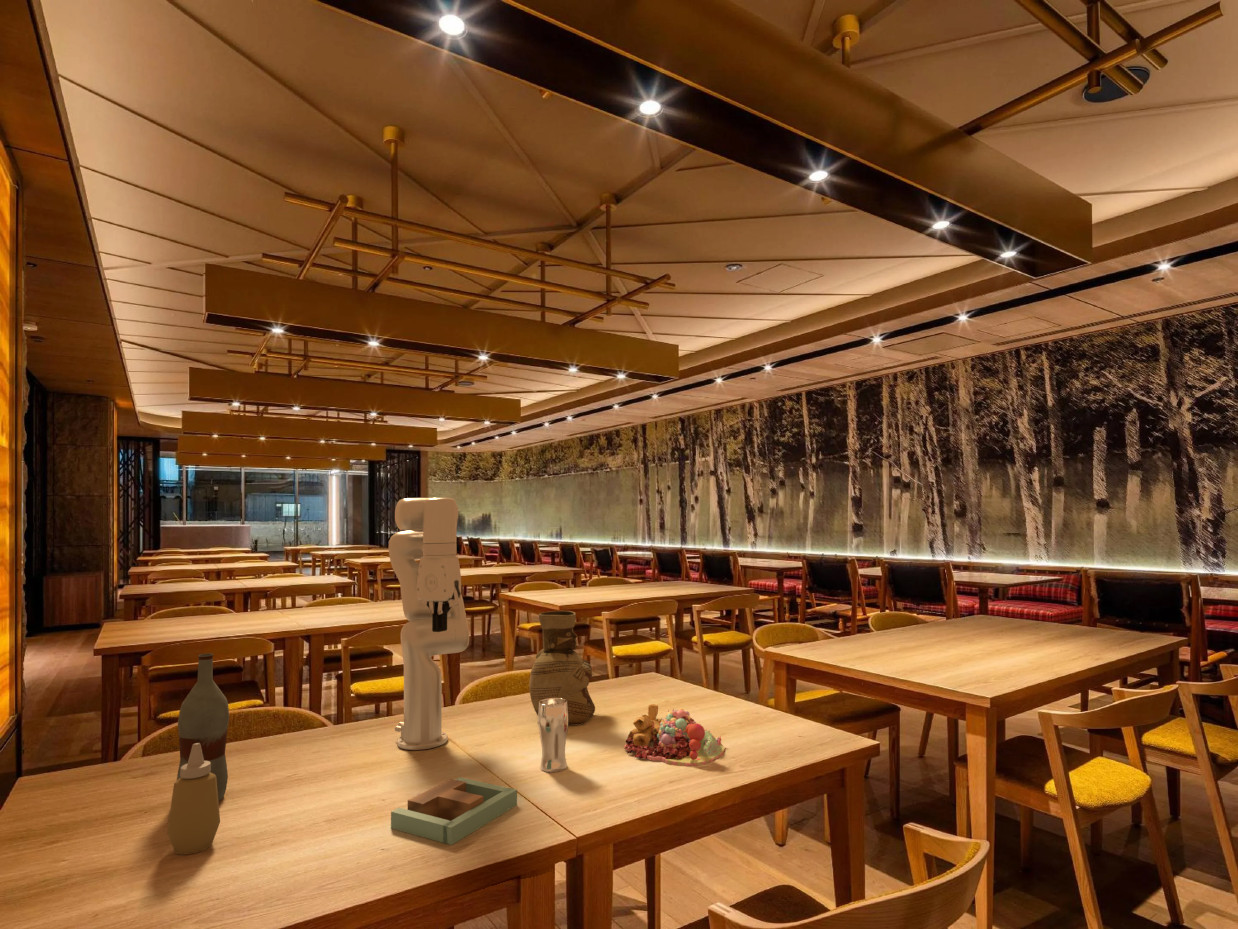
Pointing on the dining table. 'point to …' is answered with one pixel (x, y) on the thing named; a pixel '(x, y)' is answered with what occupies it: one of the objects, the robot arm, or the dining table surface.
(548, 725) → the beer glass
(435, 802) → the t block
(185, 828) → the squeeze bottle
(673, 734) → the pastel sphere sculpture
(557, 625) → the ceramic vessel
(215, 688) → the vodka
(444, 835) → the frame
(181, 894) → the dining table surface
